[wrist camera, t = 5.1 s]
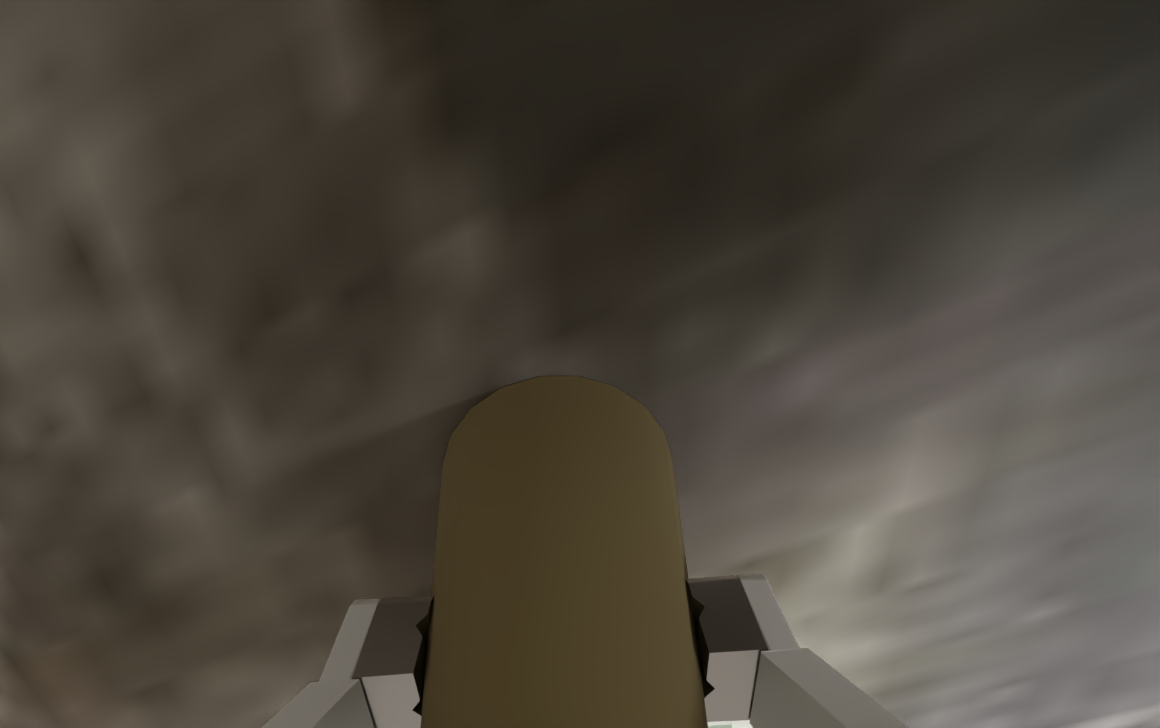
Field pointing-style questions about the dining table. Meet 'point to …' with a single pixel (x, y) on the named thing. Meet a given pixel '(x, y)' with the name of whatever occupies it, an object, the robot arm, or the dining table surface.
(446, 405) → the dining table surface
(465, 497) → the cork
